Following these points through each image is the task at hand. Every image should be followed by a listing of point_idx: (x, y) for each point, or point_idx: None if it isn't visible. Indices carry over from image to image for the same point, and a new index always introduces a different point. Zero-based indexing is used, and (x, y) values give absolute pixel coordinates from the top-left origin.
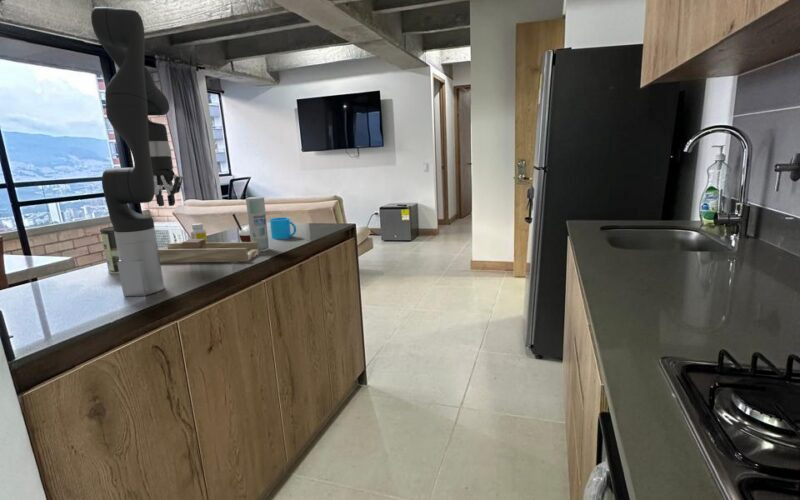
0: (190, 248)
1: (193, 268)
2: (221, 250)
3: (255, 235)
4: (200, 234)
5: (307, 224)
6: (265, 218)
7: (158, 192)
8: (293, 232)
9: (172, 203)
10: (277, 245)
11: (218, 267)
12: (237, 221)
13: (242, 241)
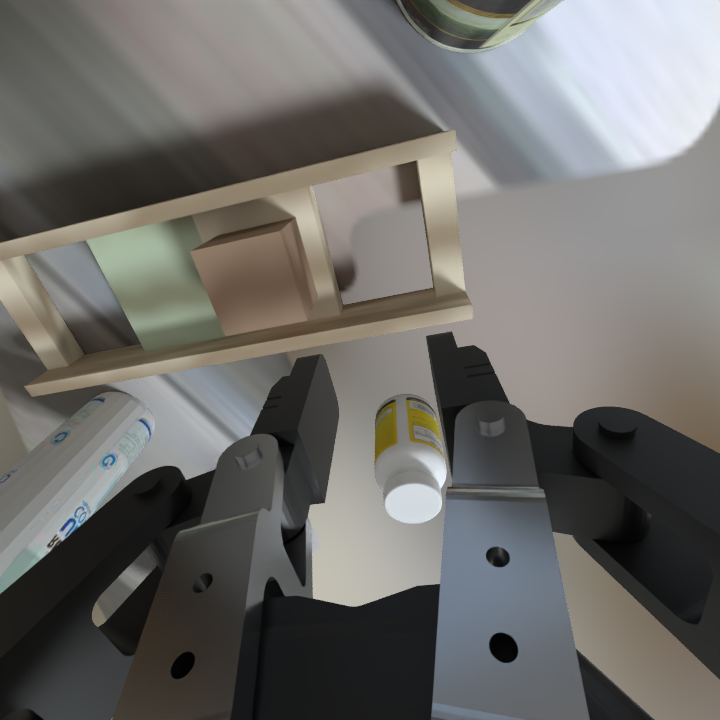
0: (247, 233)
1: (109, 63)
2: (50, 230)
3: (55, 435)
4: (380, 448)
5: None
6: None
7: (455, 452)
8: None
9: (281, 383)
10: (126, 482)
11: (7, 112)
12: None
13: None
